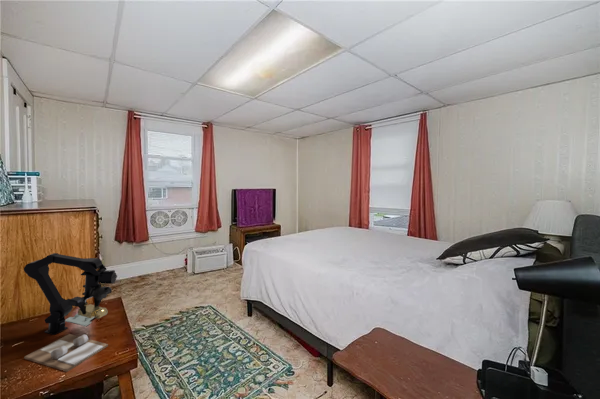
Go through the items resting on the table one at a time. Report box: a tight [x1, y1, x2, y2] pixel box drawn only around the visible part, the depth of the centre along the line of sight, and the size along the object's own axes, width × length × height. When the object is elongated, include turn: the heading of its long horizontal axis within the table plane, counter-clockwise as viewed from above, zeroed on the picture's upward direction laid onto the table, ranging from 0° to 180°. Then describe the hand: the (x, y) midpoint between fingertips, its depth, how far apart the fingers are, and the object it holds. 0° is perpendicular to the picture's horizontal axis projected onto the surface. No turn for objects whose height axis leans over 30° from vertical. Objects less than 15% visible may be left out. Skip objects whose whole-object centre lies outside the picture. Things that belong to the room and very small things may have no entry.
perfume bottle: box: [77, 303, 109, 320], centre depth 133 cm, size 13×6×4 cm, turn 78°
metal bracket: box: [65, 312, 95, 327], centre depth 144 cm, size 14×6×15 cm
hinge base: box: [23, 333, 109, 372], centre depth 116 cm, size 24×18×5 cm
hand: (90, 311), depth 133 cm, fingers closed on perfume bottle, 6 cm apart
